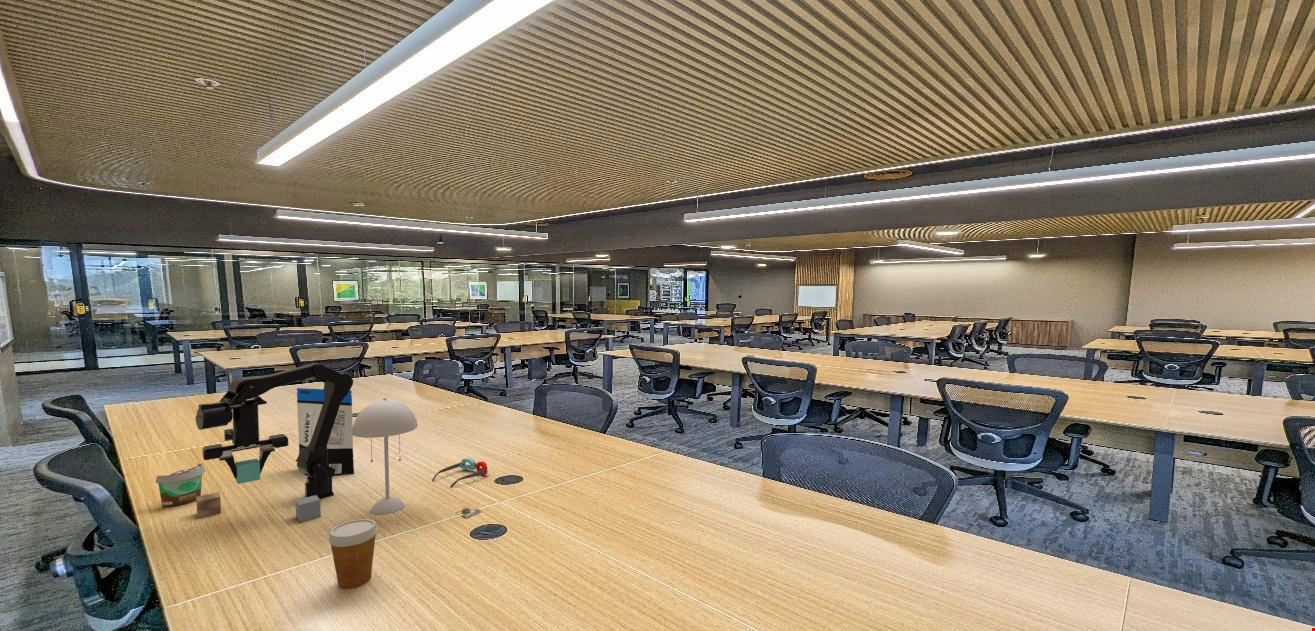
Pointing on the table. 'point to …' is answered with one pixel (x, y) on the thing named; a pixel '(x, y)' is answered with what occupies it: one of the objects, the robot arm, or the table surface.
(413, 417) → the lamp
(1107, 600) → the table surface
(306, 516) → the slate block
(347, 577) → the disposable coffee cup
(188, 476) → the food container
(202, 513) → the walnut block
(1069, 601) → the table surface
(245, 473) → the teal block
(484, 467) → the novelty glasses
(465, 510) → the small grey metal mechanism
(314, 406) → the protein powder
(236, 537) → the table surface
